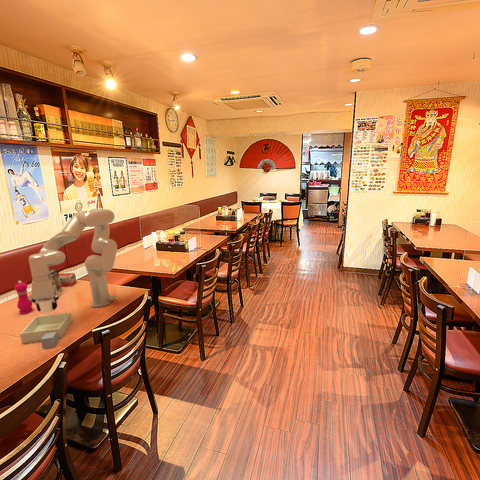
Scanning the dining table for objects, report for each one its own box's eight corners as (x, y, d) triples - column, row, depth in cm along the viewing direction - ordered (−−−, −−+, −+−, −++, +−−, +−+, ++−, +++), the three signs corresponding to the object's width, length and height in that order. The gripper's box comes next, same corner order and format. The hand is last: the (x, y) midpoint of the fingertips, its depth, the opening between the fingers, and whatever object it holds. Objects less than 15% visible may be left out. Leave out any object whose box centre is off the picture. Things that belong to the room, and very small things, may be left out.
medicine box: (50, 288, 205) (48, 277, 203) (56, 283, 213) (54, 273, 211) (71, 286, 207) (70, 276, 205) (77, 282, 214) (75, 272, 212)
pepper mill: (25, 315, 166) (18, 283, 162) (15, 314, 168) (8, 282, 163) (36, 309, 173) (30, 278, 168) (27, 308, 175) (20, 278, 170)
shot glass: (43, 315, 145) (41, 303, 143) (37, 312, 148) (35, 299, 147) (58, 310, 150) (55, 297, 149) (51, 306, 154) (49, 295, 152)
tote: (72, 321, 159) (70, 312, 157) (61, 338, 142) (59, 328, 141) (37, 325, 155) (35, 316, 153) (22, 343, 139) (19, 333, 137)
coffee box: (54, 296, 191) (49, 273, 187) (44, 296, 191) (40, 274, 187) (62, 290, 200) (58, 269, 196) (53, 290, 200) (49, 269, 196)
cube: (58, 340, 140) (56, 331, 139) (54, 346, 136) (52, 337, 135) (47, 342, 139) (45, 333, 138) (42, 348, 135) (40, 339, 133)
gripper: (62, 273, 150) (68, 304, 155) (25, 276, 147) (32, 308, 151) (57, 278, 143) (63, 310, 148) (18, 282, 140) (25, 315, 144)
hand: (47, 309), depth 149 cm, fingers closed on shot glass, 6 cm apart
